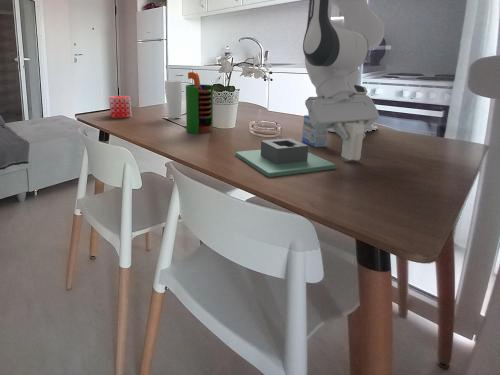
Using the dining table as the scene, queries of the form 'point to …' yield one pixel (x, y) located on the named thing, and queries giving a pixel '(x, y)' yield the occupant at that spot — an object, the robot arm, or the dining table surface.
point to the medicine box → (313, 134)
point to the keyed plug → (353, 141)
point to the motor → (199, 106)
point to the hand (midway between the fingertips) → (354, 138)
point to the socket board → (284, 158)
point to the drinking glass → (173, 97)
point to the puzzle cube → (120, 106)
